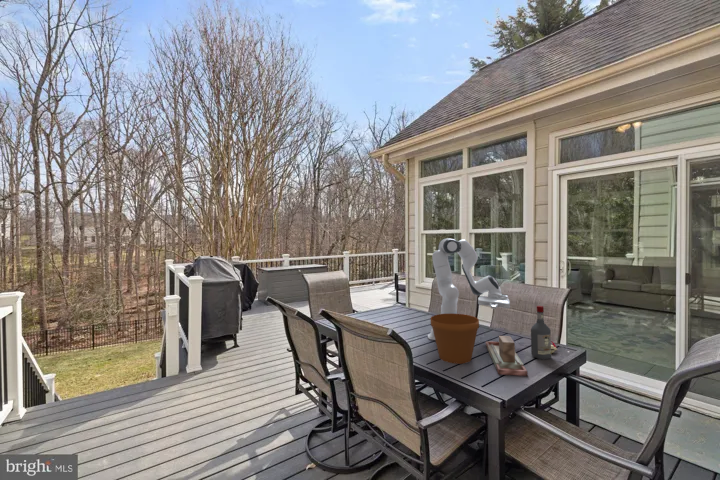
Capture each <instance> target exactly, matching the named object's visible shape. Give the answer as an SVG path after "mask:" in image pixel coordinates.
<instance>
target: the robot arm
mask: <svg viewBox="0 0 720 480" xmlns="http://www.w3.org/2000/svg"><path fill="white" fill-rule="evenodd" d="M455 253H457V255H459V257H460V258H461V260H462V264H461V268H462V272H463V273H464V277H465V278H466V281H467V283H468V285H469V288H470V291H471V292H472V294H473V295H475V296H478V298H477V304H478V305H479V306H486V307H487V306H488V307H490V309H494V310H495V309H497V308H501V309H502V308H503V309H510V307H511V301H510V299H509V295H506V294H502V289H501V286H500V285H499V282H498V280H497V279H496V277H494V276H492V275H486V276H484V277H483V278H480V279H478V280H475V279H474V277H473V274H472V273H471V269H473V267H474V266H475V264H477V261H478V259H479V256H478V253H477V252H476V250H475V248H474V247H473V246H472V245H471V243H470V242H469V241H468V240H466V239H460V240H456V239H454V238H450V237H446V238H442V239H441V240H440V241H439V242H438V246H437V250H435V251H434V252H433V253H432V255H431V256H432V257H431V258H432V265H433V268H434V269H433V270H434V273H435V277H436V283H437V289H438V293H439V295H440V296H441V297H442V300H441V306H440V314H458V313H457V312H458V310H457V309H458V302H459V296H460V291H459V289H458V287H457V286H455V284H453V273H452V268H451V266H450V262H449V261H450V260H449V255H452V254H455ZM487 292H488V294H487V296H485V295H484V296H483V294H486V293H487ZM427 339H429V340H433V341H436V340H435V336H434V332H433V328H432V327H431V330H430V333H428V334H427Z"/></svg>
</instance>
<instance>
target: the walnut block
mask: <svg viewBox="0 0 720 480" xmlns="http://www.w3.org/2000/svg"><path fill="white" fill-rule="evenodd" d="M498 342H499V355H500V357H501V358H502V360H503V362H513V363H515V352H516V351H515V350H516V348H515V347H516V346H515V345H516V344H515V341H514V340H513V339H512V337H511V335H498Z"/></svg>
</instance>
